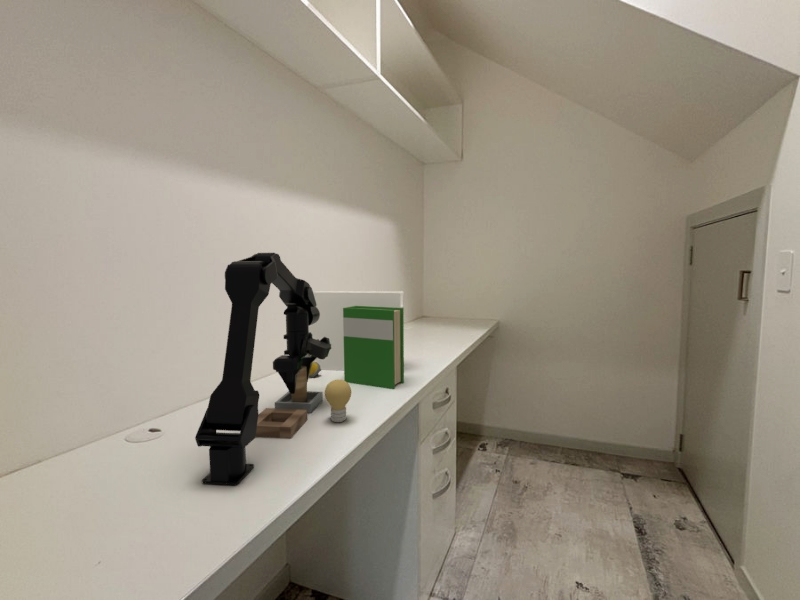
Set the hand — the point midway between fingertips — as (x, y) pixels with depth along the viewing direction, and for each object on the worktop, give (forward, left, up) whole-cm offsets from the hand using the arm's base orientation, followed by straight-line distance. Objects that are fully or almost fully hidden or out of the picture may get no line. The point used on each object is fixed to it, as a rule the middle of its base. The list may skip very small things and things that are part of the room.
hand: (299, 387), depth 105 cm
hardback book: (+23, -16, -5) cm, 28 cm away
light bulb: (-8, -13, -5) cm, 16 cm away
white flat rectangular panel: (+40, -6, -5) cm, 40 cm away
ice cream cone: (+27, +6, -5) cm, 28 cm away
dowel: (0, 0, -4) cm, 4 cm away
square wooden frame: (-14, 0, -5) cm, 15 cm away
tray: (0, 0, -5) cm, 5 cm away
